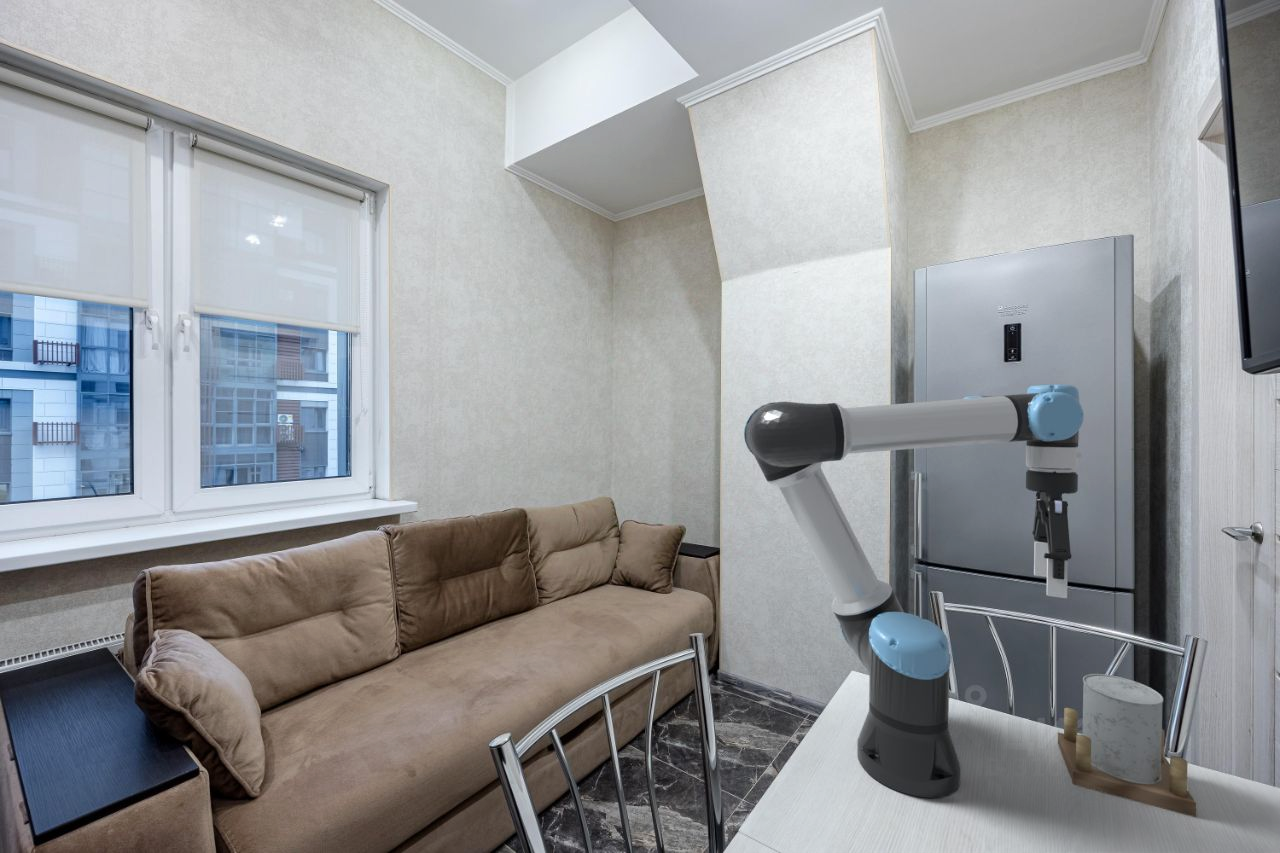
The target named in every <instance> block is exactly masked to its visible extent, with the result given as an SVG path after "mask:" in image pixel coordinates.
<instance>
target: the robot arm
mask: <svg viewBox="0 0 1280 853" xmlns="http://www.w3.org/2000/svg"><path fill="white" fill-rule="evenodd" d="M1083 422H1084V409H1083V407H1082V405H1081V403H1080V394H1079V389H1078V388H1077V387H1076V386H1074V385H1071V384H1043V385H1042V384H1041V385H1040V384H1039V385H1031V386H1029V387H1028V388H1027V393H1023V394H1022V393H1019V394H1018V393H1017V394H1004V395H1003V394H1002V395H981V394H980V395H974V396H965V397H963V398H958V399H942V400H933V401H920V402H919V401H918V402H907V403H896V404H895V403H894V404H882V405H881V404H880V405H870V406H869V405H868V406H856V407H854V406H853V407H845V408H843V406H841V404H839V403H838V402H832V403H803V402H793V401H777V402H776V401H775V402H768V403H767V404H766V403H765V404H763V405H761V406H759V407H757V408H756V409H754V411H753V412H752V413H750V415H749V417H748V418H747V420H746V422H745V426H744V430H743V431H744V432H743V434H744V436H743V437H744V438H743V439H744V442H745V444H746V448H747V449H748V452H750V454H751V455H752V456H754V458H755V461H757V464H758V466H759V468H760V470H761V472H762V474H763V476H764V478H765V479H766V481H767V483H769V484H771V485H774V486H777V487H778V488H779V490H780V491H781V494H782V496H783V498H784V500H785V501H786V503H787V505H788V508H789V509H790V512H791V513H792V515H793V517H794V519H795V521H796V523H797V525H798V527H799V529H800V531H801V533H802V535H803V537H804V539H805V540H806V542H807V544H808V546H809V549H810V550H811V552H812V555H813V557H814V558H815V561H816V562H817V565H818V567H819V569H820V570H821V572H822V574H823V576H824V578H825V580H826V583H828V586H829V588H830V590H831V592H832V593H833V596H834V598H833V600H832V603H831V610H832V611H833V614H834V615H835V618H836V619H837V621H838V623H839V627H840V630H841V631H840V632H841V634H842V637H843V638H844V640H845V642H846V643H847V644H848V646H849V648H851V649H852V651H853V652H854V654H855V655H856V657H857V658H858V659H859V660H860V662H861V664H862V665H863V667H864V668H865V669H866V671H867V672H868V677H869V684H868V685H869V692H868V693H869V696H868V698H869V700H868V702H869V703H868V705H869V706H868V711H867V715H866V717H865V720H864V723H863V725H862V728H861V730H860V732H859V735H858V738H857V744H856V745H857V748H856V751H857V752H856V754H857V755H856V756H857V760H858V762H859V764H860V766H861V767H862V769H864V771H865V772H866V773H867V774H868V775H870V776H871V777H872V778H873V779H875V780H876V781H878V782H879V783H881V784H883V785H884V786H887V787H888V788H890V789H892V790H894V791H898V792H900V793H903V794H906V795H910V796H914V797H920V798H928V799H930V798H931V799H933V798H943V797H948V796H951V795H952V794H954V793H956V792H957V790H959V788H960V785H961V764H960V760H959V757H958V754H957V752H956V748H955V746H954V745H955V744H954V742H953V739H952V736H951V734H950V730H949V709H950V708H949V707H950V706H949V705H950V704H949V703H950V702H949V700H950V667H951V662H952V661H951V659H952V658H951V657H952V656H951V653H950V645H949V644H950V643H949V640H948V637H947V635H946V634H945V632H944V631H943V629H942V628H940V627H939V626H938V625H937V624H935V623H934V622H932V621H931V620H928V619H925V618H922V617H921V616H919V615H917V614H912V613H907V612H905V611H904V610H903V607H902V605H901V604H900V601H899V600H898V598H897V596H896V594H895V592H894V590H893V588H892V586H891V585H890V583H887V582H885V581H882V580H880V579H878V577H877V575H876V574H875V572H874V570H873V568H872V565H871V563H870V561H869V559H868V558H867V556H866V554H865V551H864V550H863V548H862V546H861V544H860V542H859V540H858V539H857V537H856V534H855V533H854V530H853V528H852V526H851V525H850V523H849V520H848V519H847V516H846V515H845V513H844V511H843V509H842V506H841V505H840V502H839V500H838V499H837V497H836V495H835V493H834V491H833V490H832V487H831V485H830V483H829V481H828V480H827V478H826V476H825V473H824V472H823V470H822V464H823V463H825V462H837V461H842V460H844V458H845V457H846V456H847V455H848V454H860V453H873V452H875V453H876V452H888V451H889V452H890V451H901V450H913V449H926V448H928V449H929V448H940V447H942V448H943V447H956V446H969V445H980V444H994V443H995V444H996V443H1009V442H1010V443H1013V442H1014V443H1015V442H1026V446H1025V466H1026V467H1027V468H1029V469H1027V471H1025V488H1026V489H1027V490H1029V491H1031V492H1036V493H1035V496H1036V498H1035V508H1034V509H1035V511H1034V517H1033V518H1034V521H1033V531H1032V535H1033V539H1034V545H1033V546H1034V548H1033V549H1034V551H1033V552H1034V553H1033V554H1034V555H1033V556H1034V557H1033V562H1034V563H1033V576H1034V577H1044V578H1045V577H1046V596H1047V597H1054V598H1062V599H1068V568H1069V567H1068V565H1069V560H1071V559H1072V553H1071V542H1070V529H1069V519H1068V507H1069V502H1068V501H1066V500H1063V494H1065V495H1066V494H1068V495H1069V494H1071V495H1072V494H1076V493H1077V492H1078V491H1079V490H1078V489H1079V488H1078V486H1079V485H1078V484H1079V474H1078V472H1076V471H1075V470H1077V469H1078V468H1079V466H1078V465H1079V460H1078V459H1079V458H1080V459H1081V458H1082V457H1083V453H1082V452H1081V451H1080V452H1079V440H1080V439H1079V432H1080V429H1081V427H1082V425H1083Z"/></svg>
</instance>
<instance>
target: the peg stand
mask: <svg viewBox="0 0 1280 853" xmlns="http://www.w3.org/2000/svg"><path fill="white" fill-rule="evenodd" d="M1063 714H1064V715H1063V719H1064V720H1063V732H1060V731H1059V732H1057V746H1058V748H1059V751H1060V754H1061V756H1062V758H1063V761H1064V762H1063V763H1064V764H1065V767H1066V769H1067V771H1068V774H1069V777H1070V780H1071V783H1072V784H1073V785H1075V786H1078V787H1082V788H1085V789H1089V790H1094V791H1098V792H1100V793H1105V794H1108V795H1112V796H1117V797H1120V798H1124V799H1128V800H1131V801H1135V802H1138V803H1143V804H1146V805H1150V806H1154V807H1157V808H1161V809H1165V810H1168V811H1172V812H1176V813H1180V814H1183V815H1187V816H1191V817H1195V818H1197V802H1196V801H1195V799H1194V797H1193V795H1191V793H1190V791H1189V790H1188V761H1187V760H1186V759H1184V758H1182V757H1180V756H1176V755H1171V756H1169V761H1168V759H1167V758H1166V757H1165V733H1166V732H1165V729H1163V728H1162V745H1161V775H1162V780H1161V781H1160V782H1159V783H1157V784H1151V785H1145V784H1137V783H1132V782H1128V781H1124V780H1121V779H1118V778H1116V777H1113V776H1111V775H1108V774H1106V773H1104V772H1102V771H1100V770H1099V769H1097V768H1095V767H1094V766H1092V765H1091V739H1090V738H1089V737H1087V736H1085V735H1083V734H1079V733H1078V724H1079V723H1078V722H1079V719H1078V718H1079V717H1078V716H1079V712H1078V711H1077V709H1074V708H1070V707H1064V712H1063Z"/></svg>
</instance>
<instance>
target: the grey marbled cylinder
mask: <svg viewBox="0 0 1280 853" xmlns="http://www.w3.org/2000/svg"><path fill="white" fill-rule="evenodd" d="M1082 682H1083V687H1082V689H1083V690H1082V692H1083V694H1082V695H1083V697H1082V698H1083V701H1082V735H1085V736H1087V737H1089V738H1090V739H1091V765H1092V766H1094V767H1095V768H1097V769H1099V770H1100V771H1102V772H1104V773H1106V774H1108V775H1111V776H1113V777H1116V778H1118V779H1121V780H1124V781H1128V782H1132V783H1137V784H1145V785H1151V784H1157V783H1159V782H1160V781H1161V780H1162V775H1161V745H1162V729H1163V703H1164V697H1163V696H1162V694H1161V693H1159V692H1158V691H1157V690H1155V689H1153V688H1152V687H1150V686H1148V685H1146V684H1142V683H1141V682H1138V681H1135V680H1132V679H1128V678H1125V677H1121V676H1116V675H1112V674H1104V673H1090V674H1086V675H1085V676H1083V677H1082Z"/></svg>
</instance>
